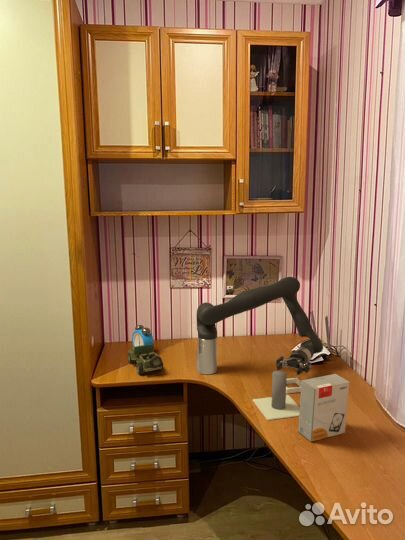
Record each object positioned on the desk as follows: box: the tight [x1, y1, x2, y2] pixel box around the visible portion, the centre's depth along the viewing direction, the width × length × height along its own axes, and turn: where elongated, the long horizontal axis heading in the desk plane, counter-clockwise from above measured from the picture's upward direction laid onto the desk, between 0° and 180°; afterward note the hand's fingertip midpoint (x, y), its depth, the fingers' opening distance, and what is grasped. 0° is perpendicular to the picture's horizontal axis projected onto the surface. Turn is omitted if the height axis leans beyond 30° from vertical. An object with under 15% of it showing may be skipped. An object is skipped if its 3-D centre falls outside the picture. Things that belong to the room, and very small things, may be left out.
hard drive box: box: [298, 373, 350, 443], centre depth 149 cm, size 16×8×20 cm, turn 114°
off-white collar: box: [286, 377, 302, 395], centre depth 185 cm, size 10×10×2 cm
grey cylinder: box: [271, 370, 288, 410], centre depth 167 cm, size 6×6×14 cm
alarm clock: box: [131, 324, 155, 347], centre depth 224 cm, size 13×6×15 cm, turn 40°
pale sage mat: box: [252, 394, 300, 421], centre depth 168 cm, size 16×16×1 cm
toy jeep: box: [127, 343, 164, 376], centre depth 206 cm, size 12×25×11 cm, turn 26°
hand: (287, 370), depth 176 cm, fingers open, 8 cm apart
